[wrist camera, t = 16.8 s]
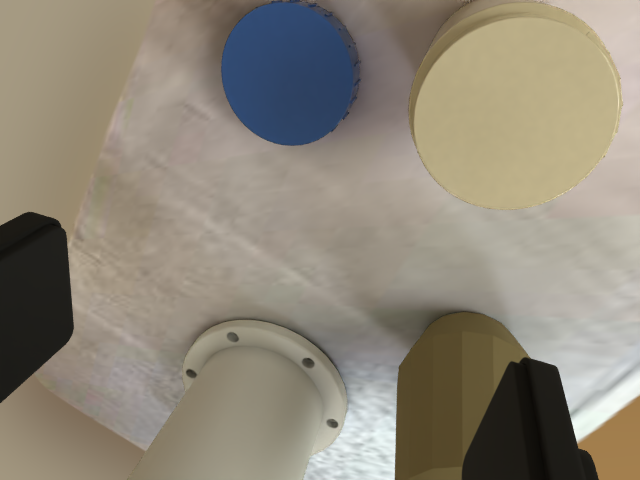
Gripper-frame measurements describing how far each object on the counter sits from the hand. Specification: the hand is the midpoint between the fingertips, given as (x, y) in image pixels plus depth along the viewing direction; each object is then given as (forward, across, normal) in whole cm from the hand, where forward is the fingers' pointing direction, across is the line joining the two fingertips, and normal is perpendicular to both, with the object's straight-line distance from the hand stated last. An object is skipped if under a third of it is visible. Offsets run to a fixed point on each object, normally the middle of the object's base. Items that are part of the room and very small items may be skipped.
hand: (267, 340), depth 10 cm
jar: (+19, -4, -4) cm, 20 cm away
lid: (+18, +5, -2) cm, 18 cm away
